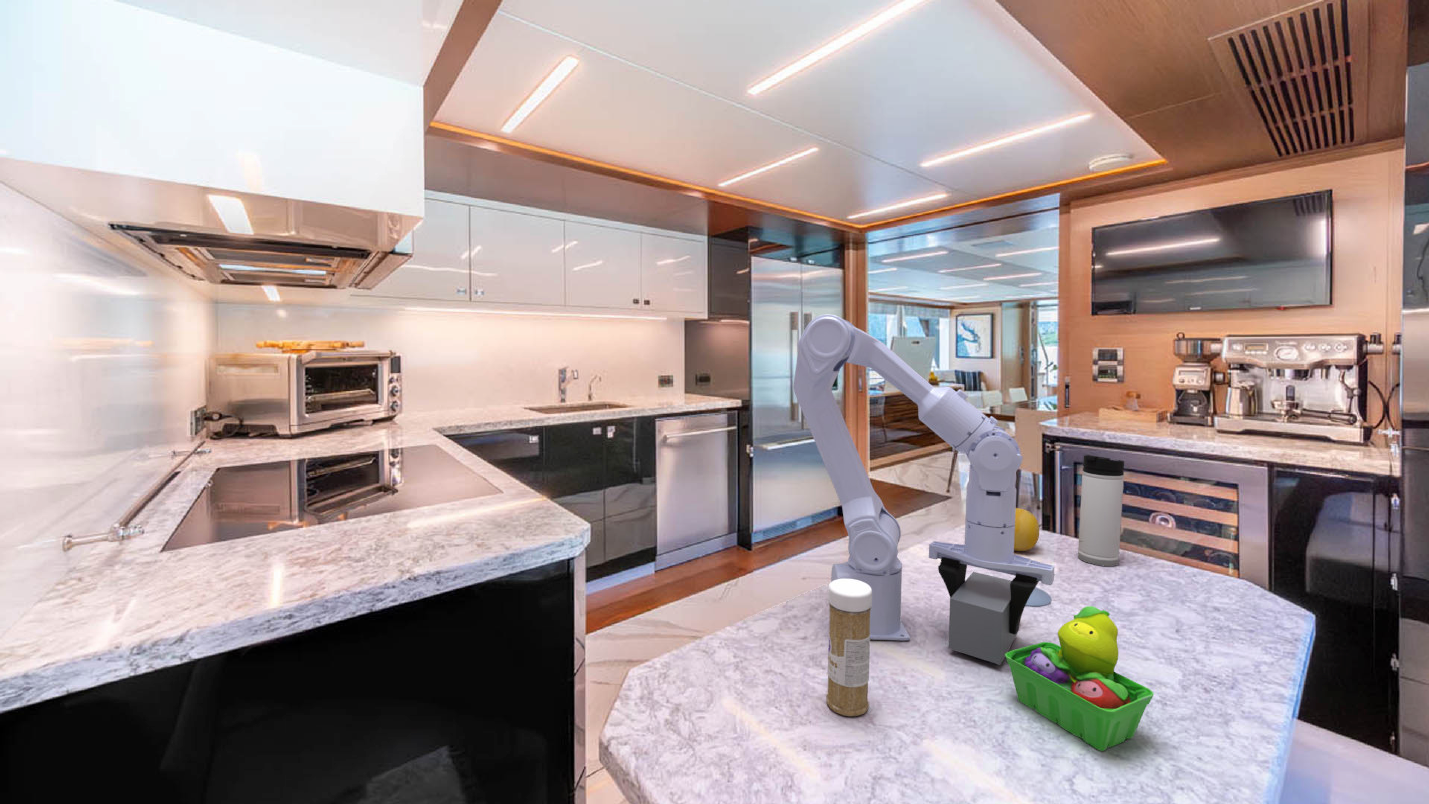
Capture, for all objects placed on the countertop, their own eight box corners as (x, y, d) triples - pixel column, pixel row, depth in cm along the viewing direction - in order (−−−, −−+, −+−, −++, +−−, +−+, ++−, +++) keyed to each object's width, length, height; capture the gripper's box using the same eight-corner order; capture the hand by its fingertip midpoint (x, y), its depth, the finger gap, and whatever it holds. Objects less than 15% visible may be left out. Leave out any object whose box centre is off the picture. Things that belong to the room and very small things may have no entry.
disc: (1003, 605, 84) (1003, 604, 84) (977, 582, 93) (977, 580, 93) (1063, 607, 84) (1063, 605, 84) (1032, 583, 93) (1032, 582, 93)
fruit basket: (998, 697, 62) (1003, 599, 61) (1051, 678, 65) (1056, 585, 64) (1106, 765, 51) (1113, 648, 50) (1162, 739, 55) (1169, 629, 54)
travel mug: (1068, 556, 105) (1073, 453, 104) (1094, 553, 107) (1100, 451, 106) (1100, 568, 99) (1106, 458, 98) (1126, 564, 101) (1133, 456, 100)
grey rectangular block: (1000, 665, 66) (1002, 612, 66) (948, 648, 70) (950, 598, 70) (1019, 629, 74) (1021, 582, 74) (971, 616, 78) (973, 571, 78)
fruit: (1044, 558, 104) (1046, 517, 104) (997, 554, 107) (998, 513, 106) (1033, 543, 113) (1034, 505, 112) (989, 539, 115) (990, 502, 114)
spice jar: (821, 694, 62) (823, 577, 61) (860, 691, 62) (863, 576, 61) (833, 720, 57) (836, 595, 56) (876, 717, 58) (879, 593, 57)
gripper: (1060, 524, 70) (1055, 628, 71) (941, 505, 79) (938, 597, 80) (1050, 538, 64) (1045, 651, 65) (924, 516, 73) (921, 614, 74)
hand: (985, 623), depth 72 cm, fingers closed on grey rectangular block, 6 cm apart
